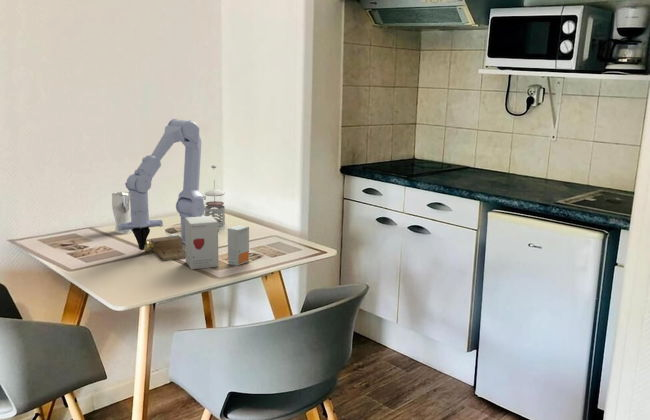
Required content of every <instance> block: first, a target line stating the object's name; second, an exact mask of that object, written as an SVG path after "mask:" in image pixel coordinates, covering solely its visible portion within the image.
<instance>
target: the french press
mask: <svg viewBox="0 0 650 420" xmlns="http://www.w3.org/2000/svg"><path fill="white" fill-rule="evenodd" d="M211 169H217V165H215V164H212V165H211ZM215 182H216V181H213V189H209V190H207V191H205V192H204V193H203V195H202V196H203V201H206V200H207V197H213V198H214V200H212V201H211V200H210V201H206V202H205V211H204V214H203V215H202V216H212V217H213V218H214V219H215V220H216V221H217V222H218V231H219V230H224V229H228V225H227V224H226V221H225V219H226V216H225V215H226V212H225V210H226V209H225V206H224V204H225V203H224V202H223V201H219V200H218V201H216V197H221V196H224V195H225V192H224V191H223V190H221V189H217V188H215ZM206 196H207V197H206Z"/></svg>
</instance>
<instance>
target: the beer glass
mask: <svg viewBox="0 0 650 420" xmlns="http://www.w3.org/2000/svg"><path fill="white" fill-rule="evenodd" d="M111 207H112V212H113V216H114V217H113V218H114V221H115V222H114V223H115V229H114V233H115V234H118V235H124V234H130V233H133V232H132V230H122V231H118V227H117V225H118V224H124V223H129V222H131V209H130V194H129V191H115V192H113V193H111Z"/></svg>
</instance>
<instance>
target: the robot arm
mask: <svg viewBox="0 0 650 420" xmlns="http://www.w3.org/2000/svg"><path fill="white" fill-rule="evenodd" d="M179 142H180V143H181V144H182V145H184V148H185V149H184V166H183V167H184V168H183V183H182V185H183V187H182V190H181V192H179V193H178V196H177V197H178V198H177V201H176V203H175V209H176V212H178V213H179V217H180V237H181V238H182V244H184V245H185V218H187V217H201V216H204V215H205V214H204V213H205V208H206V204H205V202H204V197H203V196H204V195H203V194H202V193H201V192H200V191H199V188H200V175H201V173H200V171H201V159H202V157H201V155H202V139H201V136H200V126H199V125H198V124H197V123H196V122H195V121H194V120H187V119H185V120H184V119H178V118H172V119H171V120H169V122H168V123H167V125H166V126H165V127H164V132H163V134H162V137H160V139H159V141H158V143H157V144H156V146H155V149H154V150H153V151H152V153H151V154H149V155H145V157H143V158H142V159H141V163H140V164H139V166H138V167H137V169H135V170H134V173H132V174H130V175H129V176H128V177H127V179H126V181H125V183H124V185H125V188H126V189H127V190H128V192H129V194H130V209H131V217H130V222H129V223H124V224H118V225H117V227H118V231H122V230H132V232H131V233H133V235H134V237H135V239H136V242H137V246H138V250H139V251H143V250H144V251H145V248H144V247H145V242H146V240H147V238H148V237H149V234H150V232H151V228H155V227H163V226H164V225H163V220H161V219H153V220H152V219H151V220H150V214H149V195H148V193H149V190H150V189H151V188H152V182H153V178H154V177H155V175H156V173H157V172H158V170H159V169H160V168H161V166H162V163H161V160H162V159H163V158H164V157H165V155H166V154H167V152H169V150H170V149H171V148H172V146H173V145H174V144H175V143H179ZM203 214H204V215H203Z"/></svg>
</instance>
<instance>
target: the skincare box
mask: <svg viewBox="0 0 650 420" xmlns="http://www.w3.org/2000/svg"><path fill="white" fill-rule="evenodd" d="M249 262H250V227H249V226H247V225H242V224H238V225H234V226H232V227H227V264H228V265H232V266H236V267H238V266H241V265H243V264H246V263H249Z"/></svg>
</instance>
